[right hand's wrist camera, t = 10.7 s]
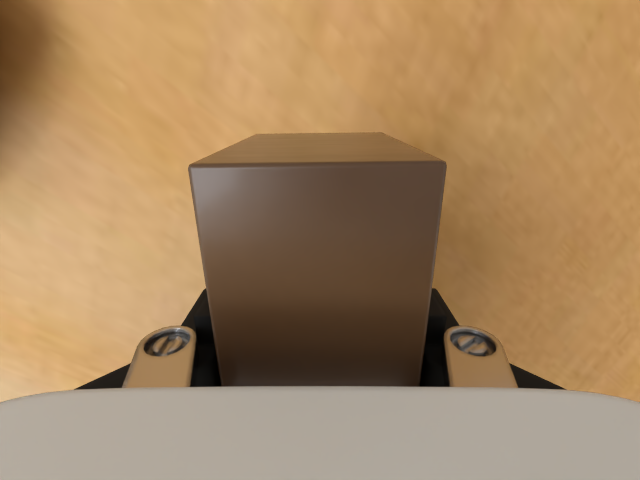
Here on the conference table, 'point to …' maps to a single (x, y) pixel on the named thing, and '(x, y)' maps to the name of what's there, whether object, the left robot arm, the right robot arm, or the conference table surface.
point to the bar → (318, 257)
